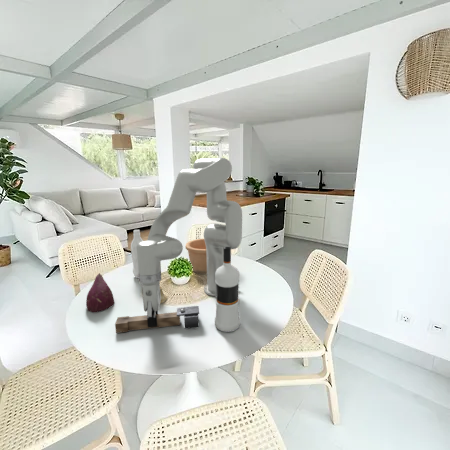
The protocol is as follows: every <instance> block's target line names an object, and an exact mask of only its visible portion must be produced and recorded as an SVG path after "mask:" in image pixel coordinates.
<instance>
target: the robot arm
mask: <svg viewBox="0 0 450 450" xmlns="http://www.w3.org/2000/svg"><path fill="white" fill-rule="evenodd" d="M192 166H193V167H192V168H185V169H182V170H180V171H179V172H178V173H177V177H176V179H175V183H174V185H173V188H172V191H171V195H170V198H169V200H168V203H167V206H166V207H165V208H164V209H163V210H161V212H160V213H159V215H158V216H157V217H156V218H155V219H154V220H153V222H152V224H151V227H150V229H149V233H148V236H147V239H146V240H143V241H142V242H140V243H138V244H137V247H136V249H137V262H138V275H139V277H138V282H139V283H140V284H141V286H142V287H141V288H142V303H143V304H142V305H143V311H144V312H145V313H146V312H147V313H146V315H147V322H148V327H156V328H158V327H157V316H156V314H159V310H160V307H161V304H160V302H161V293H160V287H161V285H160V284H161V283H160V282H161V281H162V268H161V267H162V266H161V265H162V264H161V262H162V261H167V260H174V259H176V258H178V257H179V256H181V254H182V252H183V248H184V247H183V244H182V242H181V241H180V240H179V239H177V238H175V237H172V236H168V235H167V234H168V231H169V229H170V227H171V226H172V224H174V223H175V222H176V221H177V220H181V219H182V218H184V217H187V216H188V215H189V214H190V213H191V211H192V207H193V204H194V200H195V198H196V194H197V193H199V194H200V193H201V194H205V193H206V216H207V218H208V219H209V220H211V221H213V222H218V223H210V224H208V225H206V227H205V228H204V231H203V239H204V240H205V245H206V254H207V274H206V281H207V282H206V284H205V285H204V288H203V291H204V293H205V294H206V295H208V296H211V297H216V282H215V280H216V278H215V272H216V270H217V269H218V268H219V267H221V266H222V265H223V254H224V253H223V248H224V247H226V246H228V247H231V250H236V249H238V248H239V246H240V245H241V243H242V237H243V210H242V207H241V205H240V204H239V203H238V202H237V201H234V200H228V199H227V198H228V197H227V186H226V183H225V182H226V181H227V180H228V179H229V178H230V176H231V174H232V171H233V166H232V163H231V161H230V160H228V159H227V158H226V157H203V158H198V159H196V160H195V161H194V163H193V165H192ZM222 223H224V224H222Z"/></svg>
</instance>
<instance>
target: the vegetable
mask: <svg viewBox="0 0 450 450" xmlns="http://www.w3.org/2000/svg"><path fill="white" fill-rule="evenodd" d="M113 294H114V293H113V291H112V290H111V288H110V286H109V285H108V283H107V282H106V280H105V279H104V277H103V275H102V274H101V273H98V274H97V275H96V277H95V278H94V281H93V283H92V285H91V287H90V288H89V290H88V292H87V295H86V301H85V302H86V304H85V305H86V309H87V311H88V312H90V313H96V314H97V313H101V312H104V311H107V310H108V309H110V308H112V307H113V306H114V304H115V298H114V295H113Z"/></svg>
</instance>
